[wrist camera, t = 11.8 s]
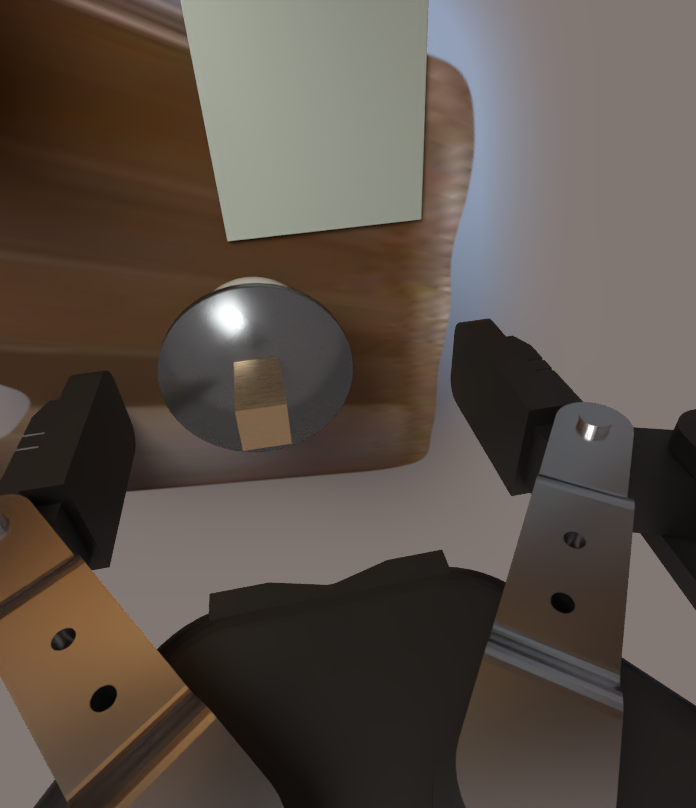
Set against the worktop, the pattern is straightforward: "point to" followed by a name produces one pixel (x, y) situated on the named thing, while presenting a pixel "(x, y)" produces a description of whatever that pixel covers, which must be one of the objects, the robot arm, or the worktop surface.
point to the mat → (312, 110)
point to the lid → (255, 367)
